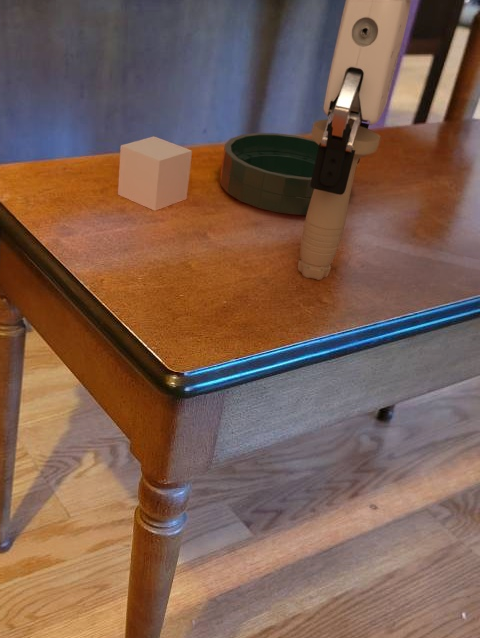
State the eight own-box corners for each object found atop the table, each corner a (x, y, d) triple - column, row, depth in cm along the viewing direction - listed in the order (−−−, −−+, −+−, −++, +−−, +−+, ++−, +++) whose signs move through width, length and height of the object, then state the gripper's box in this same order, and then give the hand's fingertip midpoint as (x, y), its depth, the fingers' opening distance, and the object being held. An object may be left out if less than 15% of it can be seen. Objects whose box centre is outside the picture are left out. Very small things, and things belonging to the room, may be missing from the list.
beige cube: (117, 195, 90) (120, 145, 86) (149, 184, 94) (153, 136, 90) (155, 211, 87) (159, 160, 84) (186, 199, 91) (192, 150, 88)
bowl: (355, 186, 101) (364, 150, 98) (335, 231, 88) (345, 190, 85) (238, 160, 104) (244, 124, 101) (203, 199, 91) (208, 159, 88)
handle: (300, 256, 81) (331, 116, 72) (350, 279, 78) (389, 135, 69) (274, 268, 78) (304, 124, 69) (325, 292, 75) (363, 145, 66)
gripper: (422, -9, 54) (361, 215, 64) (436, -31, 67) (383, 158, 78) (321, -26, 56) (277, 195, 66) (355, -44, 69) (314, 143, 79)
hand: (335, 174), depth 72 cm, fingers open, 8 cm apart
